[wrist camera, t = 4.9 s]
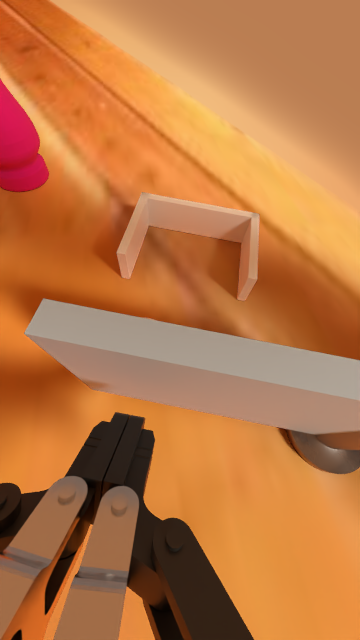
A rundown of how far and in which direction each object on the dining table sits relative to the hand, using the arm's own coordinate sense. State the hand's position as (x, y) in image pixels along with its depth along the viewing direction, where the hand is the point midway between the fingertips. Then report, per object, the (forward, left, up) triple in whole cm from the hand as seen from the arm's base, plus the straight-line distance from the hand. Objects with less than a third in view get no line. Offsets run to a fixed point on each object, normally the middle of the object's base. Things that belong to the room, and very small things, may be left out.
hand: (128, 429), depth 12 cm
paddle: (-6, -3, -5) cm, 8 cm away
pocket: (-1, -18, -6) cm, 19 cm away
